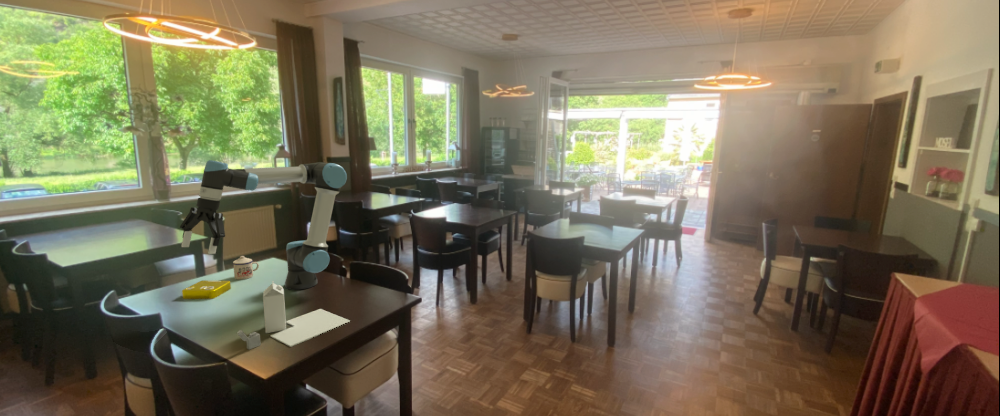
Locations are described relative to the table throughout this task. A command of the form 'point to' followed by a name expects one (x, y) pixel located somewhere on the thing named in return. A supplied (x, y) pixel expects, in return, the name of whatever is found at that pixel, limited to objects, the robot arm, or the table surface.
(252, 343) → the lighter
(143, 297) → the table surface
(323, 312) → the mat
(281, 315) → the milk carton
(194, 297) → the element tile
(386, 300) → the table surface
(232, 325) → the table surface
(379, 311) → the table surface
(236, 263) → the teacup with lid
